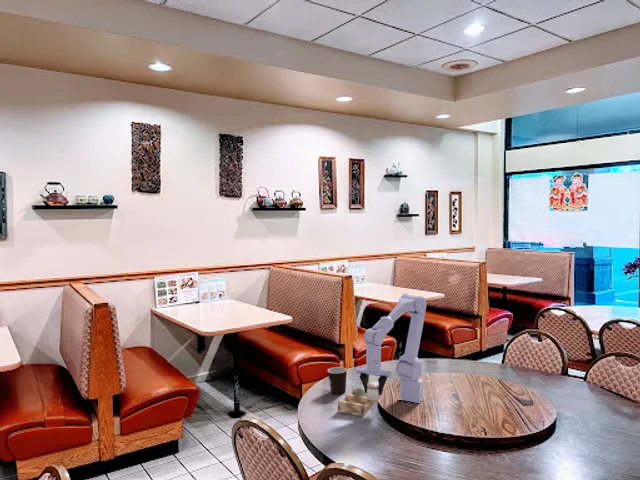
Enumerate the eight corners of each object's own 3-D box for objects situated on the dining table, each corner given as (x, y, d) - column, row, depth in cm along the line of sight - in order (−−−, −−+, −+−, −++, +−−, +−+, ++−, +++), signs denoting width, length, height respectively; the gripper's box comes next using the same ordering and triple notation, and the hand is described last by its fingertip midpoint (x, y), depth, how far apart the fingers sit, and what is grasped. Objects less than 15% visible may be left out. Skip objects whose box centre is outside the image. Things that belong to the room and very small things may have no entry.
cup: (382, 396, 197) (382, 382, 197) (377, 400, 192) (377, 387, 192) (369, 394, 199) (369, 381, 199) (365, 398, 194) (365, 385, 194)
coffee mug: (346, 395, 216) (345, 373, 215) (327, 395, 217) (325, 373, 217) (350, 386, 227) (349, 364, 226) (331, 385, 229) (330, 364, 228)
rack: (377, 401, 209) (377, 386, 209) (363, 416, 194) (363, 400, 193) (353, 397, 214) (353, 383, 213) (337, 412, 198) (337, 396, 198)
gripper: (352, 359, 195) (352, 393, 195) (388, 364, 188) (388, 399, 189) (359, 355, 201) (359, 388, 202) (393, 359, 195) (393, 393, 195)
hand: (373, 393), depth 196 cm, fingers closed on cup, 5 cm apart
